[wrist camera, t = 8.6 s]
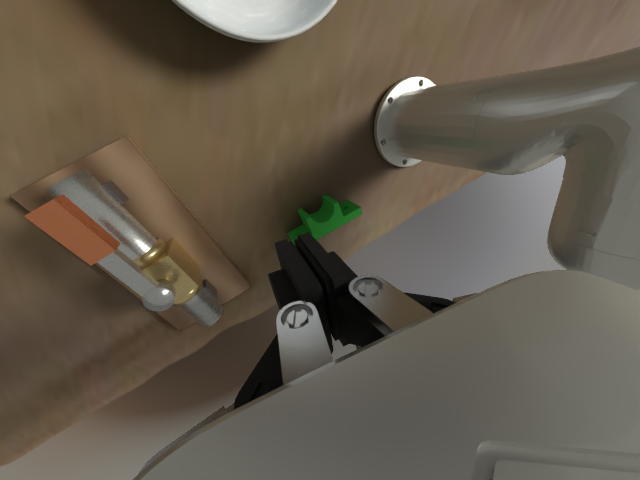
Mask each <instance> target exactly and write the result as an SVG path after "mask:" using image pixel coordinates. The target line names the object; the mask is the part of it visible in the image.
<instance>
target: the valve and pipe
mask: <svg viewBox="0 0 640 480" xmlns="http://www.w3.org/2000/svg"><path fill="white" fill-rule="evenodd" d="M45 190H46V191H47V192H48V193H50V194H51V195H52V196H53V197H54V198H57V197H59V196H61V195H63V194H64V195H65V196H66V197H67V198H68V199H69V200H71V201H72V202H73V203H74V204H75V205H77V206H78V207H79V208H80V209H81V210H82V211H84V212H85V213H86V214H87V215H88V216H89V217H91V218H92V219H93V220H94V221H95V222H96V223H98V224H99V225H100V226H101V227H102V228H103V229H105V230H106V231H107V232H108V233H109V234H110V235H112V236H113V237H114V238H115V239H116V240H118V241H119V242H120V243H121V244H120V245H119V247H118V249H119V250H120V251H121V252H123V253H124V254H125V255H126V256H127V257H129V258H130V259H131V260H132V261H133V262H135V263H136V264H137V265H138V266H139V267H141V268H142V269H143V270H144V271H145V272H147V273H148V274H149V275H150V276H151V277H153V278H154V279H155V280H156V281H157V280H159V279H167V280H169V281H170V282H171V283H172V286H173V287H174V289H175V291H176V295H175V300H174V303H173V306H175V307H177V306H179V307H181V308H182V309H183V310H184V311H185V312H186V313H187V314H189V315H190V316H191V317H192V318H193V319H194V320H196V321H197V322H198V323H199V324H200V325H201V326H202V327H209V326H211V325H213V324H214V323H216V322H217V321H218V320H219V319H220V317H221V316H222V314H223V311H224V307H223V306H222V305H221V304H220V303H219V302H218V301H217V300H216V298H217V290H216V289H215V287H214V286H213V285H212V284H211V283H210V282H209V281H208V280H207V279H205V280H204V281H202V280H201V279H200V278H199V275H200V265H199V264H198V263H197V262H196V261H195V260H194V259H193V258H192V257H191V256H190V255H189V254H188V253H187V252H186V250H185V249H184V248H183V247H182V246H181V245H180V244H179V243H178V242H177V241H176V240H175V239H174V238H171V239H169V240H168V241H166V242H164V241H163V240H162V239H161V238H159V237H157V238H154V237H153V236H152V235H151V234H150V233H149V232H148V231H147V230H146V229H145V228H144V227H143V226H142V225H141V224H140V223H139V222H138V221H137V220H136V219H135V218H134V217H133V216H132V215H131V214H130V213H129V212H128V211H127V210H126V209H125V208H124V206H123V205H122V204H124V203H125V202H126V201H127V200H128V199H129V198H128V197H127V196H126V195H125V194H124V193H123V192H122V191H121V190H120V189H119V188H118V187H117V185H116V184H115V183H114V182H113V181H112V180H110V181H108V182H106V183H104V184H101V183H100V182H99V181H98V180H97V179H96V178H95V177H94V176H93V175H92V174H91V173H90V172H89V171H88V170H87V169H85V170H82V171H80V172H78V173H76V174H74V175H72V176H70V177H68V178H66V179H64V180H62V181H60V182H58V183H56V184H54V185H52V186H50V187H48V188H47V189H45ZM127 286H128V285H127ZM132 290H133V289H132ZM136 293H137V292H136ZM137 294H138V293H137ZM140 296H141V295H140ZM141 297H142V296H141ZM142 298H143V297H142Z"/></svg>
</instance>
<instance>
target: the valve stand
mask: <svg viewBox="0 0 640 480" xmlns="http://www.w3.org/2000/svg"><path fill="white" fill-rule="evenodd" d="M85 169H87V170H88V171H89V172H90V173H91V174H92V175H93V176H94V177H95V178H96V179H97V180H98V181H99V182H100V183H101V184H104V183H106V182H108V181H110V180H112V181H113V182H114V183H115V184H116V185H117V187H118V188H119V189H120V190H121V191H122V192H123V193H124V194H125V195H126V196H127V197H128V198H129V199H128V200H127V201H126V202H125V203H124V204H122V205H123V206H124V208H125V209H126V210H127V211H128V212H129V213H130V214H131V215H132V216H133V217H134V218H135V219H136V220H137V221H138V222H139V223H140V224H141V225H142V226H143V227H144V228H145V229H146V230H147V231H148V232H149V233H150V234H151V235H152V236H153V237H154V238H157V237H159V238H161V239H162V240H163V241H164V242H166V241H168V240H169V239H171V238H174V239H175V240H176V241H177V242H178V243H179V244H180V245H181V246H182V247H183V248H184V249H185V250H186V252H187V253H188V254H189V255H190V256H191V257H192V258H193V259H194V260H195V261H196V262H197V263H198V264H199V265H200V275H199V278H200V279H201V280H202V281H204V280H205V279H207V280H208V281H209V282H210V283H211V284H212V285H213V286H214V287H215V289H216V290H217V298H216V300H217V301H218V302H219V303H220V304H221V305H223V304H225V303H227V302H228V301H230V300H231V299H233V298H234V297H236V296H238V295H239V294H241V293H242V292H244V291H245V290H247V289H249V288H250V287H251V285H250V282H249V281H248V279H247V278H246V277H245V276H244V275H243V273H242V272H241V271H240V270H239V268H238V267H237V266H236V265H235V264H234V262H233V261H232V260H231V259H230V258H229V256H228V255H227V254H226V253H225V252H224V250H223V249H222V248H221V247H220V246H219V244H218V243H217V242H216V241H215V240H214V238H213V237H212V236H211V235H210V234H209V232H208V231H207V230H206V229H205V227H204V226H203V225H202V224H201V223H200V221H199V220H198V219H197V218H196V217H195V215H194V214H193V213H192V212H191V211H190V209H189V208H188V207H187V206H186V205H185V203H184V202H183V201H182V200H181V199H180V197H179V196H178V195H177V194H176V193H175V191H174V190H173V189H172V188H171V186H170V185H169V184H168V183H167V182H166V180H165V179H164V178H163V177H162V176H161V174H160V173H159V172H158V171H157V170H156V168H155V167H154V166H153V165H152V164H151V162H150V161H149V160H148V159H147V158H146V156H145V155H144V154H143V153H142V152H141V150H140V149H139V148H138V147H137V145H136V144H135V143H134V142H133V141H132V139H131V138H130V137H129V136H126V137H123V138H121V139H119V140H117V141H115V142H114V143H112V144H110V145H108V146H106V147H104V148H102V149H100V150H98V151H96V152H94V153H92V154H90V155H88V156H86V157H84V158H82V159H80V160H78V161H77V162H75V163H73V164H71V165H69V166H67V167H65V168H63V169H61V170H59V171H57V172H55V173H53V174H51V175H49V176H47V177H45V178H43V179H42V180H40V181H38V182H36V183H34V184H32V185H30V186H28V187H26V188H24V189H22V190H20V191H18V192H16V193H14V194H12V195H10V197H12V198H13V199H14V200H15V201H17V202H18V203H19V204H20V205H22V206H23V207H24V208H25V209H27V210H28V211H29V212H32V211H33V210H35V209H37V208H39V207H40V206H42V205H44V204H46V203H48V202H49V201H51V200H53V199H55V198H54V197H53V196H52V195H51V194H50V193H48V192H47V191H46V190H45V189H47V188H48V187H50V186H52V185H54V184H56V183H58V182H60V181H62V180H64V179H66V178H68V177H70V176H72V175H74V174H76V173H78V172H80V171H82V170H85ZM95 264H96V265H97V266H98V267H100V268H101V269H102V270H103V271H105V272H106V273H107V274H108V275H110V276H111V277H112V278H113V279H115V280H116V281H117V282H119V283H120V284H121V285H122V286H124V287H125V288H126V289H127V290H129V291H130V292H131V293H132V294H134V295H135V296H136V297H137V298H139V299H140V300H141V301H142V302H143V298H142V297H141V296H140V295H139V294H137V293H136V292H135V291H134V290H132V289H131V288H130V287H129V286H127V285H126V284H125V283H124V282H122V281H121V280H120V279H118V278H117V277H116V276H114V275H113V274H112V273H110V272H109V271H108V270H106V269H105V268H104V267H102V266H101V265H100V264H99V263H97V262H96V263H95ZM155 312H156V313H158V314H159V315H160V316H161V317H163V318H164V319H165V320H166V321H168V322H169V323H170V324H171V325H173V326H174V327H175V328H176V329H178V330H179V331H180V332H181V331H182V330H184V329H186V328H187V327H189V326H190V325H192V324H193V323H195V322H197V321H196V320H194V319H193V318H192V317H191V316H190V315H189V314H187V313H186V312H185V311H184V310H183V309H182V308H181V307H179V306H177V307H175V306H173V305H172V306H171V307H170V308H168V309H167V310H164V311H155Z"/></svg>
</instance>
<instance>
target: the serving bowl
mask: <svg viewBox="0 0 640 480" xmlns="http://www.w3.org/2000/svg"><path fill="white" fill-rule="evenodd" d="M172 1H173V2H174V3H175V4H176V5H178V6H179V7H180V8H181V9H182V10H184V11H185V12H186V13H187V14H189V15H190V16H192V17H193V18H194V19H196V20H197V21H199V22H200V23H202V24H204V25H205V26H207V27H209V28H211V29H213V30H214V31H217V32H219V33H221V34H223V35H226V36H228V37H232V38H235V39H238V40H243V41H248V42H256V43H269V42H277V41H282V40H286V39H289V38H292V37H295V36H297V35H299V34H301V33H304V32H305V31H307V30H309V29H310V28H312V27H313V26H314V25H316V24H317V23H318V22H320V21H321V20H322V19H323V18H324V17H325V16H326V15H327V14H328V12H329V11H330V10H331V9H332V7H333V6H334V5H335V3H336V2H337V0H172Z"/></svg>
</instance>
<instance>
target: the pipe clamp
mask: <svg viewBox="0 0 640 480" xmlns="http://www.w3.org/2000/svg"><path fill="white" fill-rule="evenodd" d="M322 199H323V202H322V206H321V208H320V209H319V210H318V211H317V212H315V213H312V214H309V213H306V212H305V211H304V210H303V209H302V208H300V209H298V210H297V212H298V214H299V216H300V218H301V220H302V222H303V224H302V225H301V226H299V227H297V228H295V229H293V230H292V231H290V232H288V233H287V234H288V236H289V238H290V239H291V241H292V242H293V244H294V245H295V242H294V240H295V239H298V237H297V236H298V235H301V234H304V233H308V232H309V233H310V234H311V235H312V236H313V237H314V238H315V240H317V239H319V238H321V237H323V236H324V235H326V234H328V233H330V232H331V231H333V230H335V229H336V228H338V227H340V226H342V225H343V224H345V223H347V222H349V221H350V220H352V219H354V218H355V217H357V216H359V215H361V214H362V210H361V207H359V206H358V205H356V204H354V203H352V202H351V201H349V200H345V201H343V202H342V203H340V204H339V203H338V201H336V200H334V199H333V198H331V197H330V196H328V195H326V194H325V195H323V196H322Z"/></svg>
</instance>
